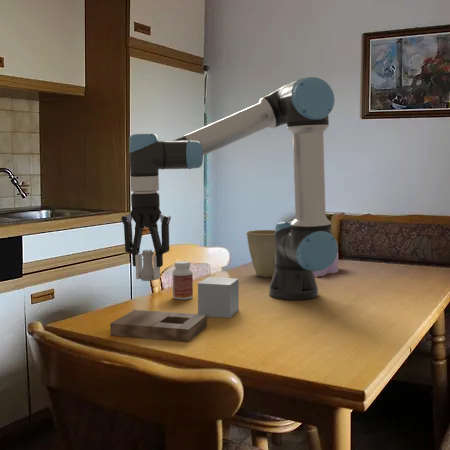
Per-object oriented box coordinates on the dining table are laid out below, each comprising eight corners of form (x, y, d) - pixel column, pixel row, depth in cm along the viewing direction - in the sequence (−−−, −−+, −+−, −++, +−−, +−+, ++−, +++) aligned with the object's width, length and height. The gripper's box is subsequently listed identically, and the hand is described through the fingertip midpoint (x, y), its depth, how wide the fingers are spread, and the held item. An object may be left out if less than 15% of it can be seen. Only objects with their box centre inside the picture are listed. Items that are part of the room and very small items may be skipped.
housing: (238, 310, 175) (238, 278, 174) (230, 318, 167) (229, 285, 166) (208, 308, 178) (207, 277, 177) (198, 315, 169) (197, 283, 168)
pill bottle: (196, 298, 190) (196, 262, 189) (179, 301, 187) (178, 264, 186) (186, 294, 195) (186, 259, 194) (169, 297, 192) (168, 261, 191)
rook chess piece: (140, 278, 171) (139, 249, 170) (156, 277, 171) (155, 248, 170) (139, 281, 166) (138, 251, 165) (156, 280, 167) (155, 251, 166)
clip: (326, 278, 222) (326, 259, 221) (293, 275, 228) (293, 256, 227) (343, 269, 240) (343, 251, 239) (312, 267, 245) (312, 249, 245)
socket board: (206, 326, 159) (206, 314, 158) (188, 341, 145) (188, 329, 145) (134, 320, 164) (134, 309, 164) (110, 335, 151) (110, 323, 151)
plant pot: (295, 275, 227) (296, 231, 226) (268, 280, 217) (268, 235, 215) (265, 269, 238) (265, 228, 236) (238, 275, 228) (238, 231, 226)
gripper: (180, 191, 167) (183, 276, 170) (121, 191, 172) (124, 274, 175) (170, 193, 160) (173, 282, 163) (108, 193, 165) (112, 280, 168)
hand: (148, 278), depth 169 cm, fingers closed on rook chess piece, 4 cm apart
